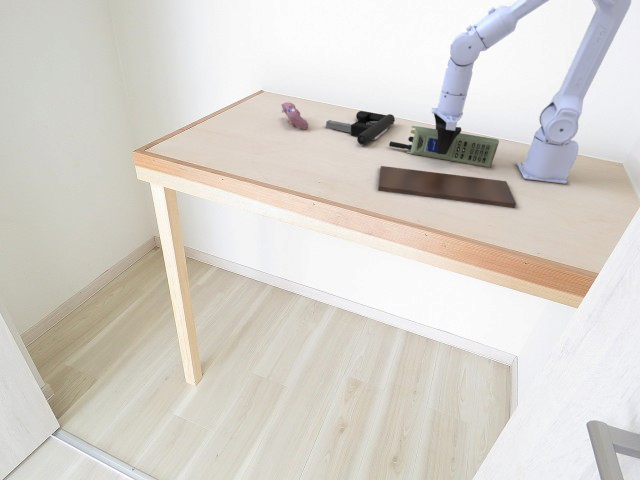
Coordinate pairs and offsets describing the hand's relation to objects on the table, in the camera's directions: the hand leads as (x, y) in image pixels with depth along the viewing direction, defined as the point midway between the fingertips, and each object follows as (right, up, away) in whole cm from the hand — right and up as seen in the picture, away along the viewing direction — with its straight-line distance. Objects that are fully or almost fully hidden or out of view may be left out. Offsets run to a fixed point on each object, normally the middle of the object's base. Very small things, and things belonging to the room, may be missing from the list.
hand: (440, 148), depth 102 cm
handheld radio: (0, -2, +2) cm, 3 cm away
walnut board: (-3, -11, -11) cm, 16 cm away
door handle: (-19, +8, +13) cm, 24 cm away
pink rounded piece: (-37, +10, +14) cm, 41 cm away
